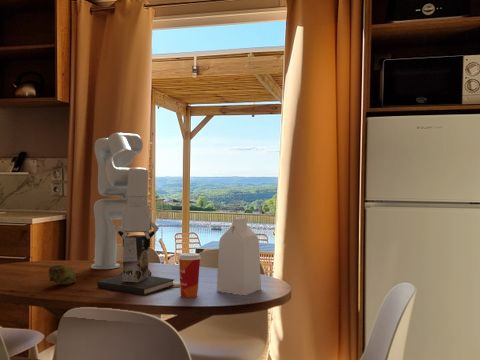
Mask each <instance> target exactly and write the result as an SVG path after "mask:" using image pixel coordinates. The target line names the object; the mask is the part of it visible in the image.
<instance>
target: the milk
mask: <svg viewBox="0 0 480 360" xmlns="http://www.w3.org/2000/svg"><path fill="white" fill-rule="evenodd" d="M246 219H247V218H246V217H235V218H233V219H232V220H233V221H232V224H231V226H230V227H229V228H228V229H227V230H226V231H225V233H223V234H222V235H221V237H220V238H219V241H218V242H219V243H218V259H217V273H216V275H217V277H216V292H217V291H222V292H221V293H224V292H227V293H226V294H230V293H233V294H232V295H236V294H239V295H238V296H242V295H245V296H247V295H249V293H250V294H252V292H253V293H255V292H258V291H260V290H261V289H262V277H261V275H262V274H261V258H260V257H261V256H260V254H261V253H260V239H259V236H258V235H257V234H256V233H255V232H254V231H253V230H252V229H251V228H250V226H248V224H247V220H246ZM257 290H258V291H257Z"/></svg>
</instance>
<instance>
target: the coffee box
mask: <svg viewBox="0 0 480 360" xmlns="http://www.w3.org/2000/svg"><path fill="white" fill-rule="evenodd" d="M145 239H146V236H145V234H132V235H128V236H127V237H124V247H122V248H123V254H122V272H123V281H125V282H140V281H142V280H144V279H146V278H148V269H149V263H150V262H149V258H150V257H149V256H150V253H149V251H150V248H149V249H148V250H145Z"/></svg>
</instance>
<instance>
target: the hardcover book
mask: <svg viewBox="0 0 480 360" xmlns="http://www.w3.org/2000/svg"><path fill="white" fill-rule="evenodd" d="M119 275H120V274H119ZM119 275H116V276H112V277H108V278H105V279H102V280H98V281H97V283H96V285H97V288H101V289H107V290H112V291H118V292H124V293H128V294H136V295H141V296H148V295H150V294H153V293H156V292H159V291H162V290H165V289H168V288H171V286H174V285H173V282H175V279H174V278H166V277H160V276H154V275H151V276H148V278H146V279H144V280H142V281H140V282H125V281H123V275H120V276H119Z"/></svg>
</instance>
